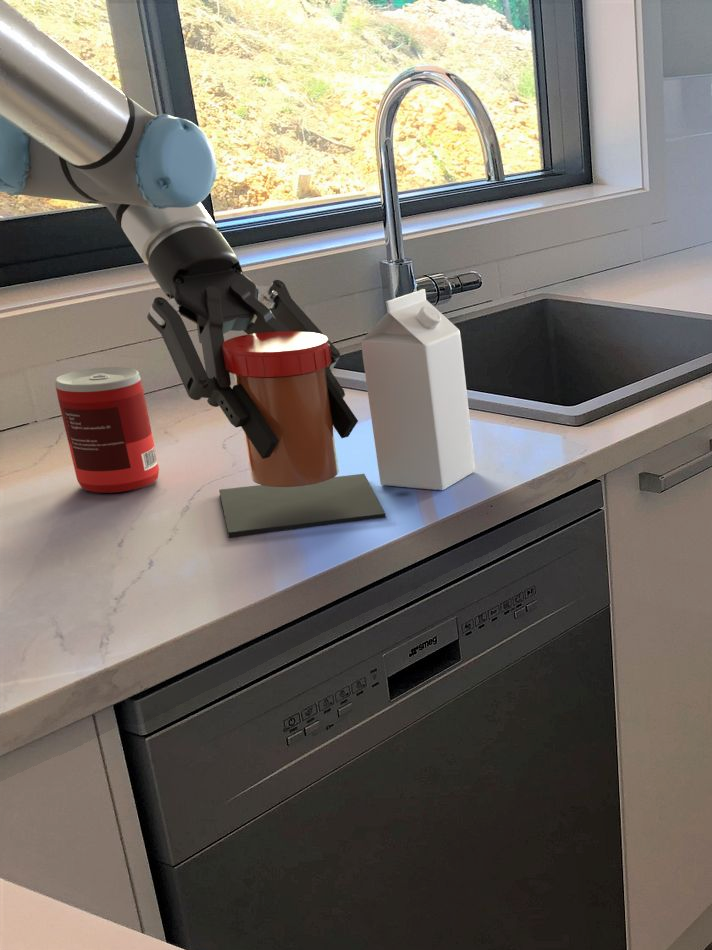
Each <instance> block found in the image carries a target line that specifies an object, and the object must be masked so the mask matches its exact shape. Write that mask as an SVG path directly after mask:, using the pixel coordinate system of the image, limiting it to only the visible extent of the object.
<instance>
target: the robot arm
mask: <svg viewBox="0 0 712 950" xmlns="http://www.w3.org/2000/svg"><path fill="white" fill-rule="evenodd" d="M216 176H217V158H216V154H215V151H214V147H213V145H212V142H211V141H210V139H209V138H208V136H207V135H206V133H205V132H204V131H203V130H202V128H200V127H199V126H198V125H197V124H195V123H194V122H192V121H190V120H189V119H186V118H181V117H176V116H173V115H170V114H167V113H160V114H159V113H158V114H157V115H156V114H154V113H151V112H150V111H148V110H147V109H146V108H144V107H142V106H141V105H140V104H139V103H138V102H136V101H135V100H133V99H132V98H130V96H128V95H127V94H125V93H124V92H123V91H122V90H120V88H118V87H116V86H115V85H113V84H112V83H111V82H110V81H108V80H107V79H106V78H105V77H104V76H102V75H101V74H100V73H98V72H97V71H96V70H95V69H93V68H91V67H90V66H89V65H88V64H86V63H85V62H84V61H83V60H81V59H80V58H79V57H78V56H76V54H74V53H73V52H71V51H70V50H68V49H67V48H66V47H65V46H63V45H62V44H61V43H60V42H58V40H56V39H54V38H53V37H52V36H50V35H49V34H48V33H47V32H45V31H44V30H43V29H42V28H40V27H39V26H38V25H36V24H35V23H34V22H32V21H31V20H30V19H28V18H27V17H26V16H24V14H22V13H21V12H19V11H18V10H17V9H16V8H14V7H13V6H12V5H10V4H9V3H8V2H7V1H6V0H0V193H5V194H7V196H26V197H34V198H43V199H50V200H61V201H69V202H70V201H71V202H78V203H84V204H93V205H94V204H95V205H102V206H104V207H105V208H107V210H108V211H109V212H110V214H111V215H112V217H113V218H114V219H115V221H116V222H117V224H118V226H119V227H120V228H121V230H122V231H123V233H124V234H125V236H126V237H127V239H128V240H129V242H130V243H131V245H132V246H133V248H134V249H135V250H136V252H137V253H138V255H139V257H140V258H141V259H142V261H143V262H144V264H146V265H147V268H148V270H149V272H150V274H151V276H152V277H153V279H154V280H155V281H156V283H157V284H158V286H159V287H160V289H161V290H162V292H163V294H164V295H165V296H166V298H168V299H166V298H164V297H161V296H157V297H155V298H154V299H153V302H152V304H151V306H150V308H149V311H148V314H147V316H146V319H147V320H148V321H149V323H150V324H151V325H152V326H153V327H154V328H155V329H156V330H157V331H158V333H159V334H160V335H161V337H162V340H163V343H164V344H165V346H166V349H167V351H168V353H169V355H170V357H171V359H172V362H173V365H174V366H175V369H176V372H177V374H178V376H179V378H180V380H181V382H182V385H183V387H184V389H185V392H186V393H187V395H188V397H189V399H191V400H194V401H200V400H201V399H203V398H204V399H207V400H206V401H207V404H208V405H209V406H211V407H213V408H218V407H219V408H220V409H221V411H222V412H223V414H224V415H225V416H226V419H228V421H229V423H230V424H231V425H232V426H233V427H235V428H241V429H242V431H243V433H244V432H245V433H246V435H247V436H248V438H249V439H250V441H251V442H252V444H253V445H254V447H255V448H256V450H257V451H258V453H259V454H260V456H261V457H262V459H264V458H268V457H270V456H271V454H272V452H273V450H274V449H275V447H276V445H277V444H278V442H279V440H278V438H277V437H276V435H275V434H274V432H273V431H272V429H271V428H270V426H269V425H268V423H267V422H266V420H265V419H264V417H263V416H262V414H261V413H260V411H259V410H258V408H257V407H256V405H255V404H254V402H253V401H252V399H251V398H250V396H249V395H248V393H247V392H246V390H245V389H244V387H243V386H242V384H238V385H236V384H234V385H233V386H232V387H231V385H232V380H231V373H230V372H228V370H226V365H225V359H224V353H223V350H222V349H223V347H222V344H223V342H225V337H224V335H225V334H226V333H229V332H231V331H234V332H241V331H243V332H244V333H245V334H246V335H248V334H255V333H263V332H277V331H300V332H311V333H317V334H321V335H324V336H326V335H325V334H324V333H323V332H322V331H321V329H320V328H318V326H317V325H316V324H315V323H314V322H313V321H312V319H311V318H310V317H309V316H308V315H307V314H306V313H305V312H304V311H303V310H302V308H300V306H299V305H298V304H297V303H296V302H295V300H293V298H292V296H291V294H290V292H289V289H288V288H287V286H286V283H284V282H283V281H282V280H280V279H274V280H273V281H272V283H271V285H257V284H256V283H255V282H254V281H253V280H252V279H250V278H249V277H248V276H246V275H245V273H244V271H243V269H242V265H241V262H240V260H239V257H238V256H237V255H236V253H235V252H234V250H233V248H232V247H231V246H230V244H229V242H227V240H226V239H225V237H224V236H223V234H222V233H221V232H220V231H219V230H218V228H217V224H216V223H215V221H214V220H213V218H212V217H211V215H210V214H209V213H208V211H207V210H206V209H205V207H204V205H203V204H202V202H203V201H204V200H205V199H206V198H207V197H208V196H209V194H211V192H212V189H213V187H214V184H215V180H216V178H217V177H216ZM181 316H182V317H184V318H186V319H187V320H189V321H191V322H193V323H194V324H196V330H197V336H198V342H199V344H201V349H202V356H203V362H204V365H203V363H202V360H201V358H200V356H199V353H198V351H197V349H196V347H195V344H194V343H193V340H192V338H191V336H190V333H189V331H188V329H187V327H186V324H185V323H184V320H183V318H182V317H181ZM255 318H256V319H255ZM328 344H329V346H330V353H331V360H332V362H331V364H330V365H329V366H328V367H326V368H325V373H326V380H327V387H328V395H329V402H330V409H331V416H332V424H333V429H335V431H336V432H337V434H338V435H339V437H340V438H341V439H346V438H348V437H349V436H350V435H351V433H352V431H353V430H354V429H355V427H356V425H357V424H358V422H359V420H358V419H357V417H356V415H355V414H354V413H353V411H352V410H351V408H350V406H349V405H348V404H347V402H346V401H345V399H344V398H345V396H346V394H345V389H344V388H343V387H342V386H341V384H340V382H339V381H338V379H337V378H336V377H335V374H333V372H332V370H334V367H335V366H336V365H337V362H338V360H339V359H340V357H341V352H340V351H339V350H338V349H337V347H336V346H335V345H334V344H333V343H332V342H331V341H330V339H328Z"/></svg>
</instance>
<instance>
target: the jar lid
mask: <svg viewBox="0 0 712 950" xmlns="http://www.w3.org/2000/svg"><path fill="white" fill-rule="evenodd" d="M324 335H325V334H324ZM324 335H321V334H317V333H311V332H300V331H277V332H263V333H255V334H244V335H239V336H234V337H232V338H229V339H227V340H224V342H223V344H222V347H223V349H222V350H223V353H224V359H225V365H226V370H228V372H229V374H233V375H234V374H236V375H241V376H249V377H281V376H292V375H300V374H306V373H311V372H315V371H318V370H321V369H324V368H326V367H328V366H329V365H330V364H331V362H332V360H331V353H330V346H329V344H328V340H329V338H328V337H327V335H325V336H324Z"/></svg>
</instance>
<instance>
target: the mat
mask: <svg viewBox="0 0 712 950" xmlns="http://www.w3.org/2000/svg"><path fill="white" fill-rule="evenodd" d="M218 491H219V496H220V502H221V506H222V510H223V516H224V521H225V525H226V526H225V527H226V530H227V537H228V538H236V537H237V538H238V537H245V536H254V535H262V534H269V533H277V532H285V531H292V530H293V531H295V530H301V529H308V528H315V527H316V528H317V527H324V526H332V525H338V524H339V525H340V524H346V523H353V522H355V523H356V522H362V521H368V520H377V519H385V518H387V516H386V512H385V510H384V508H383V506H382V505H381V503H380V501H379V499H378V496H377V495H376V493H375V491H374V489H373V487H372V486H371V484H370V482H369V480H368V478H367V476H366V474H365V473H360V474H358V473H357V474H350V475H342V476H341V475H339V476H335V477H333V478H331V479H329V480H326V481H323V482H320V483H316V484H311V485H305V486H296V487H271V486H264V485H260V484H257V485H248V486H240V487H230V488H221V489H219V490H218Z"/></svg>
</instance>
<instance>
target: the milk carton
mask: <svg viewBox="0 0 712 950" xmlns="http://www.w3.org/2000/svg"><path fill="white" fill-rule="evenodd" d="M426 293H427V292H426V289H425V288H423V289H419V290H417V291H413V292H411V293H408V294H404V295H401V296H398V297H395V298H392V299H389V300H386V301H385V304H386V313H385V314H384V315H383V317H382V318H381V319H380V320H379V321H378V322H377V323H376V324H375V325H374V326H373V327H372V328H371V329H370V330H369V331H368V332H367V333H366V335H364V336H363V338H362V339H361V340H360V346H361V354H362V362H363V367H364V368H363V369H364V375H365V376H364V377H365V383H366V391H367V397H368V403H369V411H370V419H371V425H372V433H373V440H374V447H375V454H376V455H375V456H376V461H377V463H376V464H377V470H378V477H379V483H380V486H389V487H398V488H410V489H411V488H412V489H423V490H433V491H434V490H435V491H444V490H446V489H448V488H449V487H451V486H453V485H454V484H456V483H458V482H459V481H461V480H463V479H465V478H466V477H467V476H469V475H471V474H473V473H474V472H476V463H475V455H474V445H473V437H472V429H471V427H472V426H471V418H470V410H469V408H470V407H469V399H468V391H467V382H466V381H467V380H466V373H465V364H464V363H465V362H464V354H463V344H462V337H461V331H460V329H459V328H458V327H457V326H456V325H455V324H454V323H452V322H451V320H450V319H448V318H447V317H446V316H445V315H444V314H443V313H442V312H440V311H439V310H438V309H437V308H436V307H435V306H434V305H433V304H432V303H431V302H430V301H429V300H428V299H427V294H426Z"/></svg>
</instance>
